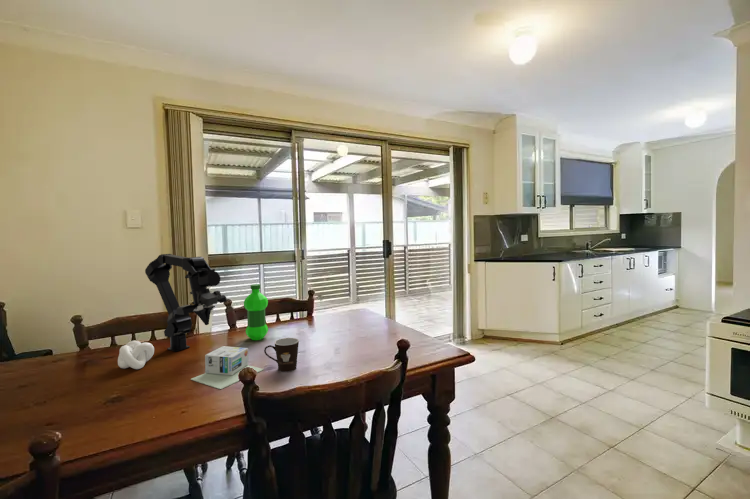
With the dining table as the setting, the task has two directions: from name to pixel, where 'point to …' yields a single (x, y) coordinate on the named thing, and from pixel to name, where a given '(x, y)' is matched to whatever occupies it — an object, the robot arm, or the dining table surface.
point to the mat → (220, 378)
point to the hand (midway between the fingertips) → (207, 324)
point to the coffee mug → (285, 353)
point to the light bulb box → (226, 360)
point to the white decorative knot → (135, 354)
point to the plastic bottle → (256, 313)
